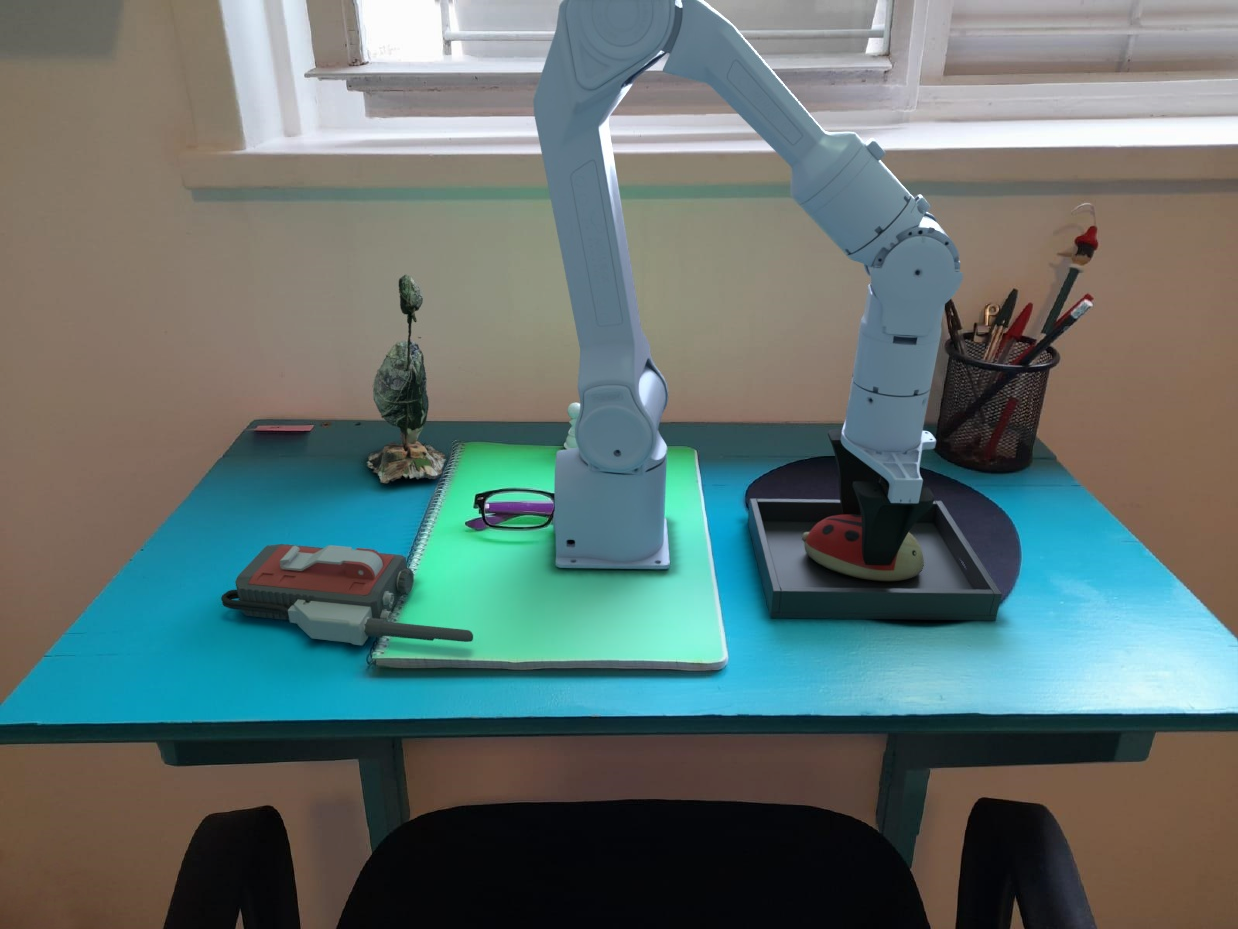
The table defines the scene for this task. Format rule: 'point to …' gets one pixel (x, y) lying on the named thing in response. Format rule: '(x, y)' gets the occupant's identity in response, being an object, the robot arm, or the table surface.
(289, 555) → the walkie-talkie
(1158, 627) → the table surface
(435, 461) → the plant with pod
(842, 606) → the tray
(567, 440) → the chess pawn
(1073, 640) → the table surface
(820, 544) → the ladybug figurine
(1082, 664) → the table surface
